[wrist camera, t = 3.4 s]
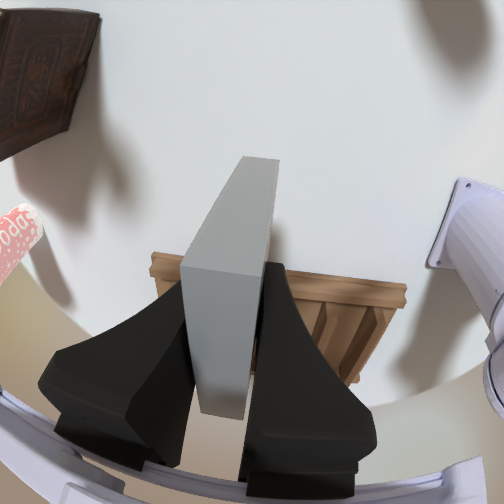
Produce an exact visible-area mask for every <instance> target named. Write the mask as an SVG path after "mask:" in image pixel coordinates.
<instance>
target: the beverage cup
mask: <svg viewBox="0 0 504 504" xmlns="http://www.w3.org/2000/svg"><path fill="white" fill-rule="evenodd" d="M42 236H43V225H42V221H41V219H40V217H39V215H38V213H37V212H36V211H35V209H34V208H33V207H31V206H30V205H29V204H26V203H23V204H21V205H19V206H17V207H16V208H14V209H13V210H11V211H10V212H8V213H7V214H5V215H4V216H2V217H1V218H0V285H1V283H2V282H3V281H4V280H5V278H6V277H7V276H8V275H9V274H10V272H11V271H12V270H13V269H14V267H15V266H16V265H17V264H18V263H19V262H20V260H21V259H22V258H23V257H24V256H25V255H26V254H27V252H28V251H29V250H30V249H31V248H32V247H33V246H34V245H35V244H36V243H37V242H38V240H39V239H40V238H41V237H42ZM0 287H1V286H0Z"/></svg>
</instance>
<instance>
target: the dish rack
mask: <svg viewBox="0 0 504 504" xmlns="http://www.w3.org/2000/svg"><path fill="white" fill-rule="evenodd" d="M183 258H184V256H179V255H172V254H165V253H158V252H153V254H152V255H151V259H152V265H151V267H150V268H149V271H150V277H155V282H156V287H157V293H158V298H159V297H160V296H161V295H163V294H164V293H165V292H166V291H167V290H169V289H170V288H171V287H172V286H173V285H175V284H176V283H177V282H178V281H179V280H180V279H181V275H180V263H181V262H182V260H183ZM285 273H286V277H287V281H288V284H289V287H290V290H291V293H292V296H293V298H294V301H295V303H296V306H297V308H298V311H299V313H300V315H301V317H302V319H303V321H304V323H305V325H306V327H307V329H308V331H309V333H310V335H311V337H312V338H313V340H314V342H315V343H316V345H317V347H318V348H319V350H320V351H321V353H322V354H323V356H324V357H325V359H326V360H327V361H328V363H329V364H330V366H331V367H332V368H333V370H334V371H335V372H336V374H337V375H338V376H339V378H340V379H341V380H342V381H343V382H344V384H345V385H346V386H347V387H349V386H350V384H351V383H358V382H359V381H360V375H359V372H361V370H362V369H363V367H364V365H365V364H366V362H367V361H368V359H369V357H370V356H371V354H372V352H373V351H374V349H375V347H376V346H377V344H378V342H379V341H380V339H381V337H382V335H383V334H384V332H385V330H386V328H387V327H388V325H389V323H390V321H391V319H392V317H393V315H394V314H395V312H396V310H397V308H401V309H403V308H404V306H405V304H406V302H407V301H406V298H405V296H404V294H405V292H406V290H407V287H406V284H401V283H392V282H383V281H374V280H366V279H357V278H349V277H340V276H332V275H324V274H316V273H308V272H300V271H292V270H285ZM255 354H256V345H255V351H254V357H253V364H252V370H251V375H254V374H255Z"/></svg>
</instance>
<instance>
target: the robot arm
mask: <svg viewBox="0 0 504 504" xmlns="http://www.w3.org/2000/svg"><path fill="white" fill-rule="evenodd" d="M468 183H469V185H468V187H466V185H467V184H468ZM439 260H440V261H439ZM437 261H439V262H438V263H437ZM428 264H429V265H430V266H431V267H437V268H444V269H451V270H457V272H458V273H459V275H460V277H461V278H462V280H463V282H464V283H465V285H466V287H467V288H468V290H469V292H470V294H471V295H472V297H473V299H474V301H475V303H476V304H477V306H478V308H479V310H480V312H481V314H482V316H483V318H484V320H485V322H486V324H487V326H488V328H489V330H490V333H489V335H488V337H487V338H486V339H485V342H486V345H487V347H488V349H489V352H490V354H489V355H488V357H487V358H486V360H485V363H484V366H483V382H484V388H485V392H486V395H487V398H488V400H489V403H490V405H491V406H492V408H493V409H494V411H495V412H496V413H497V414H498V415H499V416H500V417H501V418H502V419H503V420H504V192H503V191H501V190H498V189H496V188H493V187H491V186H488V185H485V184H483V183H480V182H477V181H474V180H471V179H469V178H466V177H460V178H459V179H458V181H457V183H456V187H455V190H454V193H453V196H452V199H451V202H450V205H449V208H448V211H447V213H446V216H445V219H444V222H443V224H442V227H441V230H440V232H439V235H438V237H437V240H436V242H435V245H434V247H433V249H432V252H431V254H430V256H429V259H428ZM38 387H39V389H40V391H41V392H42V394H43V395H44V396H45V397H46V398H47V399H48V400H49V401H50V402H51V403H52V404H53V405H54V406H55V407H56V408H57V409H58V410H59V411H60V412H61V415H60V417H59V419H58V422H55V421H53V420H52V419H50V418H48V417H46V416H45V415H43V414H41V413H40V412H38V411H36V410H34V409H33V408H31V407H29V406H28V405H27V404H25V403H23V402H22V401H20V400H19V399H17V398H15V397H14V396H13V395H11V394H10V393H9V392H7V391H6V390H4V389H3V388H2V387H1V385H0V460H1V461H2V462H3V463H4V464H5V465H6V466H7V467H8V468H9V469H10V470H11V471H12V472H13V473H14V474H16V475H17V476H18V477H19V478H20V479H21V480H22V481H24V482H25V483H26V484H27V485H28V486H30V487H31V488H32V489H33V490H35V491H36V492H37V493H38V494H40V495H41V496H42V497H44V498H45V499H46V500H48V501H49V502H50V504H149V503H146V502H143V501H140V500H137V499H135V498H132V497H129V496H127V495H124V494H123V490H124V487H125V482H124V481H122V480H120V479H118V478H116V477H114V476H112V475H110V474H108V473H107V472H105V471H104V470H102V469H100V468H98V467H96V466H94V465H92V464H90V463H88V462H86V461H84V460H83V458H82V456H81V455H83V456H85V457H87V458H89V459H91V460H93V461H96V462H98V463H100V464H102V465H104V466H107V467H109V468H112V469H114V470H116V471H119V472H122V473H124V474H127V475H130V476H132V477H135V478H138V479H141V480H144V481H147V482H150V483H153V484H156V485H160V486H163V487H167V488H170V489H174V490H178V491H181V492H186V493H190V494H194V495H198V496H203V497H208V498H214V499H219V500H225V501H231V502H238V503H246V504H487V496H486V485H485V476H484V469H483V462H482V456H476V457H473V458H470V459H467V460H464V461H461V462H458V463H456V464H453V465H451V466H449V467H447V468H445V469H444V470H443V471H439V472H436V473H431V474H427V475H423V476H418V477H414V478H408V479H403V480H397V481H390V482H383V483H375V484H367V485H355V474H357V473H358V461H360V460H361V459H363V458H364V457H366V456H367V455H369V454H370V453H371V452H372V451H373V450H374V449H375V448H376V446H377V436H376V430H375V425H374V421H373V417H372V414H371V411H370V410H369V409H368V408H367V407H366V406H365V405H364V404H363V403H362V402H361V401H360V400H359V399H358V398H357V397H356V396H355V395H354V394H353V393H352V392H351V391H350V389H349V388H348V387H347V386H346V385H345V384H344V382H343V381H342V380H341V379H340V378H339V376H338V375H337V374H336V372H335V371H334V370H333V368H332V367H331V366H330V364H329V363H328V361H327V360H326V359H325V357H324V356H323V354H322V353H321V351H320V350H319V348H318V347H317V345H316V343H315V342H314V340H313V338H312V337H311V335H310V333H309V331H308V329H307V327H306V325H305V323H304V321H303V319H302V317H301V315H300V313H299V311H298V308H297V306H296V303H295V301H294V298H293V296H292V293H291V290H290V287H289V284H288V281H287V277H286V273H285V267H284V265H283V264H282V263H275V262H267V261H266V267H265V273H264V280H263V288H262V296H261V304H260V311H259V319H258V327H257V334H256V354H255V374H254V384H253V391H252V397H251V404H250V410H249V416H248V423H247V429H246V435H245V441H244V447H243V453H242V459H241V464H240V470H239V476H238V482H236V481H230V480H224V479H218V478H212V477H207V476H202V475H198V474H193V473H189V472H185V471H181V470H177V469H173V468H174V467H176V466H178V465H179V464H180V459H181V453H182V446H183V441H184V436H185V431H186V425H187V420H188V415H189V411H190V405H191V401H192V397H193V392H194V388H195V378H194V372H193V366H192V360H191V353H190V347H189V340H188V333H187V326H186V318H185V310H184V302H183V294H182V284H181V279H180V280H179V281H178V282H177V283H176V284H175V285H173V286H172V287H171V288H170V289H169V290H167V291H166V292H165V293H164V294H163V295H161V296H160V297H159V298H158V299H156V300H155V301H154V302H153V303H151V304H150V305H149V306H147V307H146V308H144V309H143V310H141V311H140V312H138V313H137V314H135V315H134V316H132V317H131V318H129V319H127V320H125V321H124V322H122V323H120V324H118V325H117V326H115V327H113V328H111V329H109V330H107V331H105V332H103V333H101V334H99V335H97V336H95V337H93V338H90V339H88V340H86V341H83V342H81V343H78V344H75V345H72V346H70V347H67V348H64V349H62V350H58V351H56V352H55V354H54V356H53V357H52V359H51V360H50V362H49V364H48V365H47V367H46V369H45V370H44V372H43V374H42V376H41V377H40V380H39V381H38ZM80 454H81V455H80Z"/></svg>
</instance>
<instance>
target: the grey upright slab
mask: <svg viewBox="0 0 504 504" xmlns="http://www.w3.org/2000/svg"><path fill="white" fill-rule="evenodd" d="M279 161H280V160H274V159H266V158H256V157H246V156H243V157H242V158H241V160H240V162H239V163H238V165H237V166H236V168H235V170H234V171H233V173H232V175H231V176H230V178H229V180H228V181H227V183H226V185H225V186H224V188H223V190H222V191H221V193H220V195H219V196H218V198H217V200H216V201H215V203H214V205H213V206H212V208H211V210H210V212H209V213H208V215H207V217H206V219H205V220H204V222H203V224H202V226H201V227H200V229H199V231H198V233H197V234H196V236H195V238H194V240H193V242H192V243H191V245H190V247H189V249H188V251H187V252H186V254H185V256H184V258H183V260H182V262H181V263H180V275H181V284H182V294H183V302H184V310H185V318H186V326H187V333H188V340H189V347H190V353H191V360H192V366H193V372H194V378H195V384H196V389H197V394H198V400H199V405H200V410H201V413H204V414H208V415H214V416H219V417H225V418H231V419H237V420H243V419H244V413H245V407H246V401H247V395H248V389H249V383H250V376H251V370H252V364H253V357H254V351H255V345H256V334H257V327H258V319H259V311H260V304H261V296H262V288H263V280H264V273H265V267H266V261H268V253H269V245H270V237H271V229H272V221H273V213H274V204H275V196H276V187H277V179H278V170H279Z"/></svg>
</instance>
